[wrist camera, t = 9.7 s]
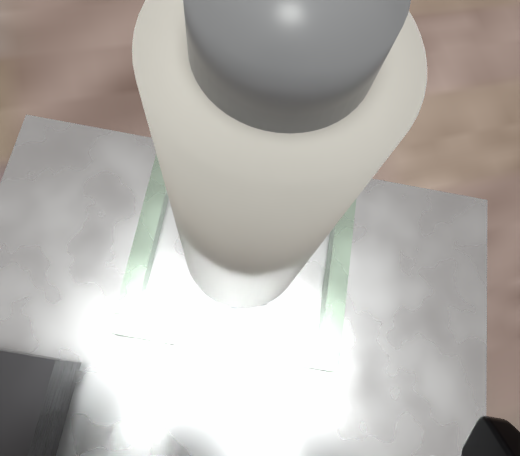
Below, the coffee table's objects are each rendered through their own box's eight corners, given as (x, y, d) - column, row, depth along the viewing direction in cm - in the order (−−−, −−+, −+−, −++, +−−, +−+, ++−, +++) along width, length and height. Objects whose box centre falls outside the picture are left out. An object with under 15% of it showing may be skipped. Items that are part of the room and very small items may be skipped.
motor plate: (452, 586, 19) (540, 667, 14) (-81, 500, 18) (-201, 550, 13) (461, 217, 24) (527, 173, 19) (45, 140, 24) (-4, 74, 18)
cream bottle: (315, 288, 20) (535, 87, 6) (203, 323, 19) (165, 181, 5) (278, 185, 21) (391, -169, 7) (172, 213, 20) (77, -129, 7)
